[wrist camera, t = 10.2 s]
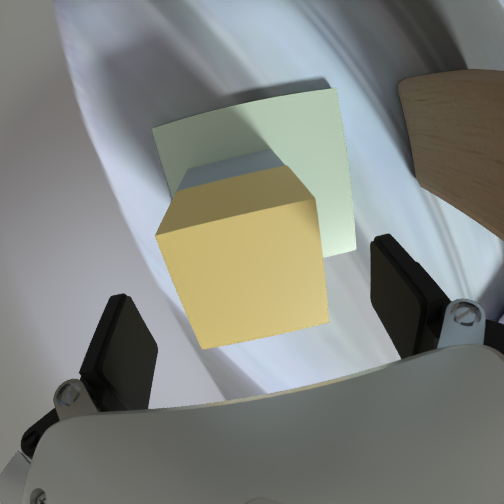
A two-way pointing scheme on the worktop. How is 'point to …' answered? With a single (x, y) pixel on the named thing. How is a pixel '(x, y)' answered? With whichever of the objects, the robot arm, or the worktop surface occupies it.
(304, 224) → the ochre brick
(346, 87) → the worktop surface
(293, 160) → the plate
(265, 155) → the slate brick
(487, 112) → the block
